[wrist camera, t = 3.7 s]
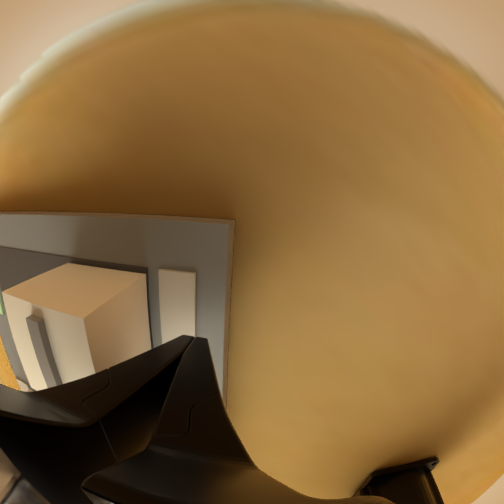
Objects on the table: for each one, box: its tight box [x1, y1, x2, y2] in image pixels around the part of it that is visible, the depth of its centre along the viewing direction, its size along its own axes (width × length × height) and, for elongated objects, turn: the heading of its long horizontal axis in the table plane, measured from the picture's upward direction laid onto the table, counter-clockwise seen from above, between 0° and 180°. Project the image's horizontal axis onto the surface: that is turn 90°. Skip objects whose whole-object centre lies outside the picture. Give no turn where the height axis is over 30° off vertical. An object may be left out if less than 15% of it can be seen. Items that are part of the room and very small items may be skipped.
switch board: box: [0, 211, 235, 409], centre depth 12 cm, size 16×18×2 cm
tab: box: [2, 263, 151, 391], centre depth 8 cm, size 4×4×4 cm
